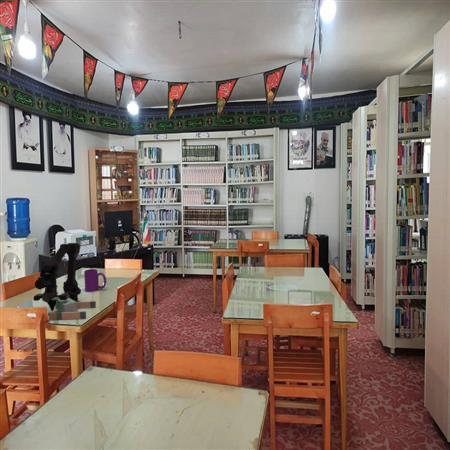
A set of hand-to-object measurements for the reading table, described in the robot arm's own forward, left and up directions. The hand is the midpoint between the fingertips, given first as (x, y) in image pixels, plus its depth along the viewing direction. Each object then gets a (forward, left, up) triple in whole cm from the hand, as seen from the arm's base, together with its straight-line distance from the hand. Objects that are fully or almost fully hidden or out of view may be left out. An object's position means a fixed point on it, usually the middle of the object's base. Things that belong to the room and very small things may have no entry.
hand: (52, 311), depth 209 cm
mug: (-50, +11, -2) cm, 52 cm away
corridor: (0, +10, -2) cm, 10 cm away
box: (-2, +8, -2) cm, 8 cm away
